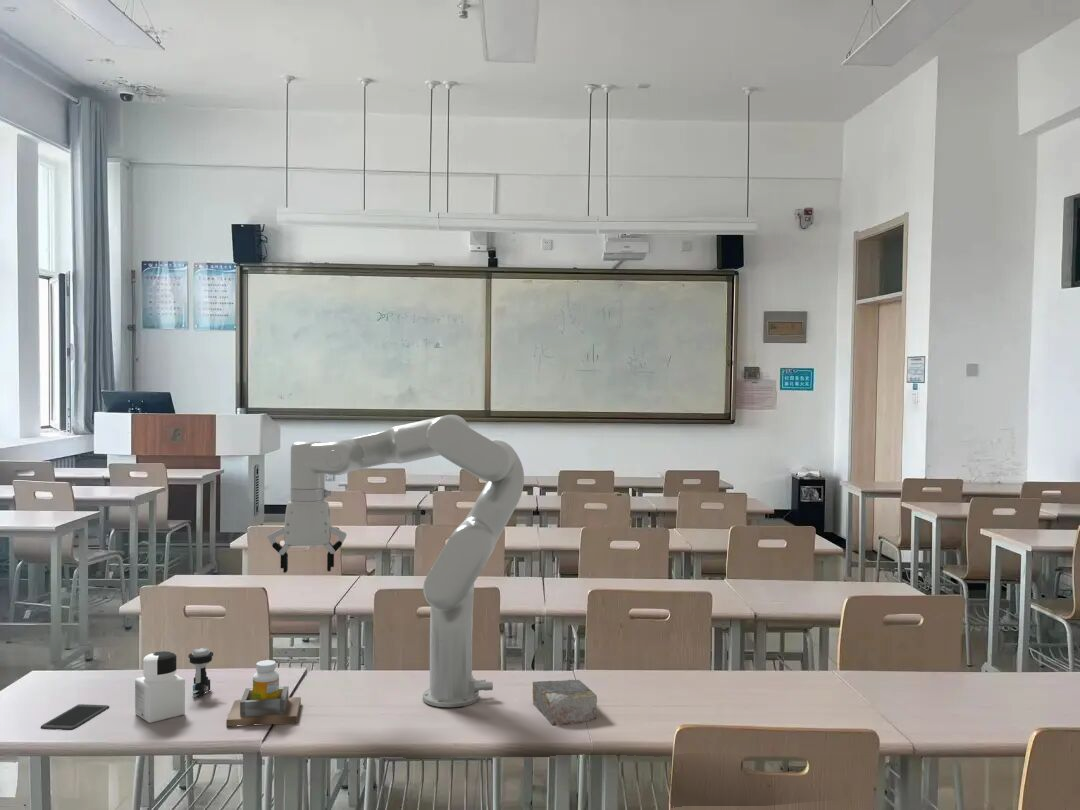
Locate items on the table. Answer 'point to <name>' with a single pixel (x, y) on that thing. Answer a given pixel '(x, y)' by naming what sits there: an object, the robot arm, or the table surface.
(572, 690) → the geological specimen
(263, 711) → the collar board
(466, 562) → the robot arm
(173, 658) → the container
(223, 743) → the table surface
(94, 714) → the cell phone
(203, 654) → the push button
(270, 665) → the supplement bottle
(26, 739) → the table surface
